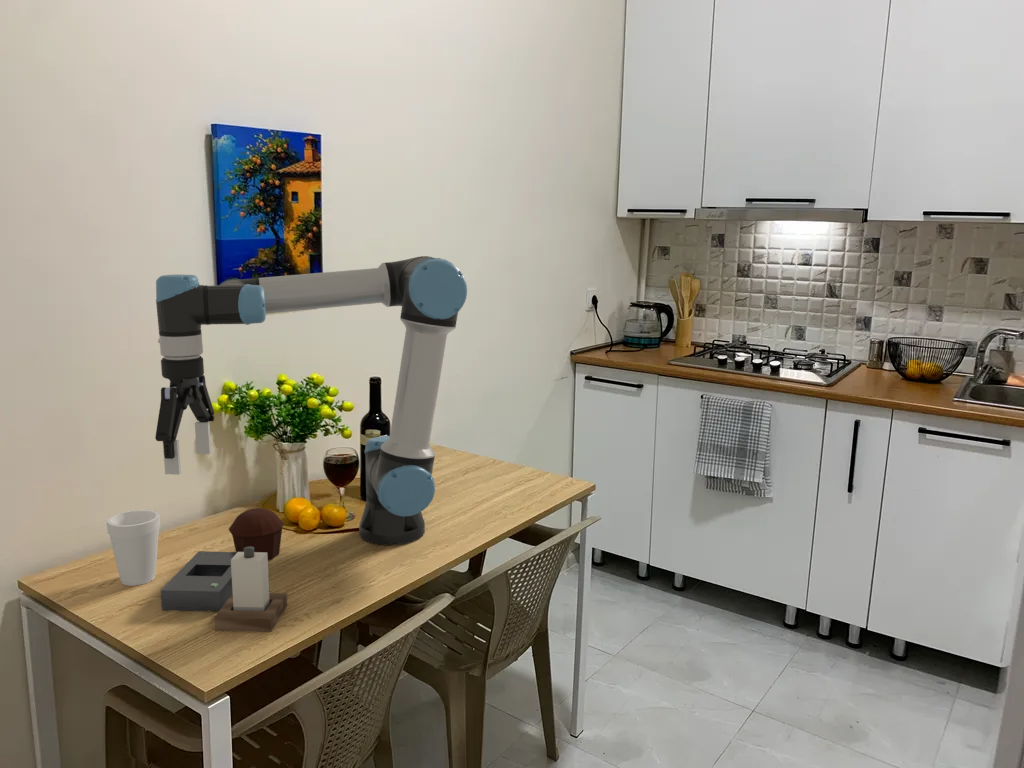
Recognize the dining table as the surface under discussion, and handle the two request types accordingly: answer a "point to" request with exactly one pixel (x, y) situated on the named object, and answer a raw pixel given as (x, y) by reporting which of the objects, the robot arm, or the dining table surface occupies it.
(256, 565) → the plug
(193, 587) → the switch box
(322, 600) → the dining table surface
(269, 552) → the muffin
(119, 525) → the foam cup
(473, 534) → the dining table surface
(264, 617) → the brown wooden square frame
